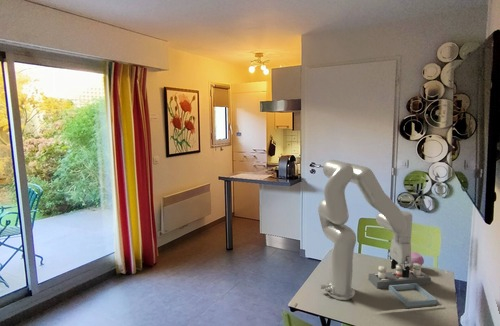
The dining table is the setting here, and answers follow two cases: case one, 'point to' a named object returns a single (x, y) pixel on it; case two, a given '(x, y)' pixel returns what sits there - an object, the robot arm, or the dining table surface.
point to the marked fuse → (399, 271)
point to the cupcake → (416, 259)
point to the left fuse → (382, 272)
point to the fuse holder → (398, 279)
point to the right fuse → (416, 269)
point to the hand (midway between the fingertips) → (399, 272)
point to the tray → (428, 301)
